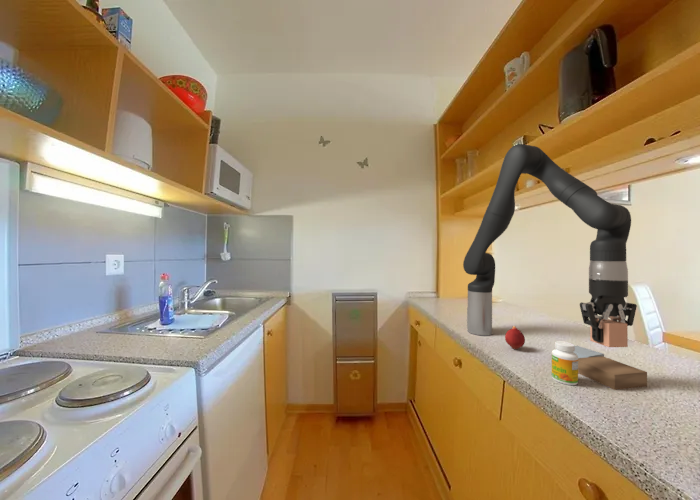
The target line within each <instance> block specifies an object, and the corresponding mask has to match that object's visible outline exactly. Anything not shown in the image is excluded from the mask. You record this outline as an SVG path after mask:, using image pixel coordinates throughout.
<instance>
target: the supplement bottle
mask: <svg viewBox="0 0 700 500" xmlns="http://www.w3.org/2000/svg"><path fill="white" fill-rule="evenodd" d="M575 346H576V345H575V344H574V343H571V342H568V341H563V340H555V342H554V348H555V349H553V350H552V351H551V378H552V379H553V380H554V381H555V382H558V383H560V384H564V385H566V386H576V385H578V383H579V374H578V356H577V354H576V353H574V352H573V351H575Z"/></svg>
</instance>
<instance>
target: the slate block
mask: <svg viewBox="0 0 700 500" xmlns="http://www.w3.org/2000/svg"><path fill="white" fill-rule="evenodd" d="M574 346H575V351H573V352H574V353H576V354H577V356H578V358H587V357H600V356H603V357H605V353H602V352H600V351H595V350H592V349H589V348H586V347H583V346H580V345H574Z"/></svg>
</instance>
